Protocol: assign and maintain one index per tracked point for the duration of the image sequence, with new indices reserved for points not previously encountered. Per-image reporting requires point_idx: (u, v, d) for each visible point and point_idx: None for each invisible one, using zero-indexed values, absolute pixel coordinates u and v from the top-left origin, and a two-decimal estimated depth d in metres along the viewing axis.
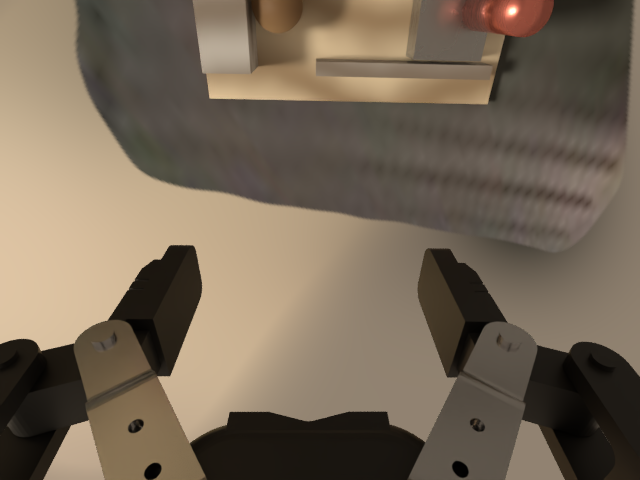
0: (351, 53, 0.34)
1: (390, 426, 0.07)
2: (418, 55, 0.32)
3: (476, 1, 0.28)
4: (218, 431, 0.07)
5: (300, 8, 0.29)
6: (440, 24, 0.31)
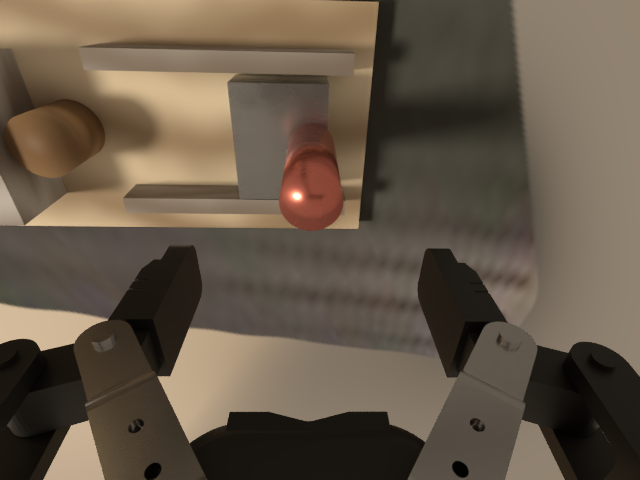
0: (178, 178, 0.28)
1: (390, 426, 0.07)
2: (245, 194, 0.25)
3: (287, 150, 0.21)
4: (218, 431, 0.07)
5: (72, 151, 0.23)
6: (263, 162, 0.24)
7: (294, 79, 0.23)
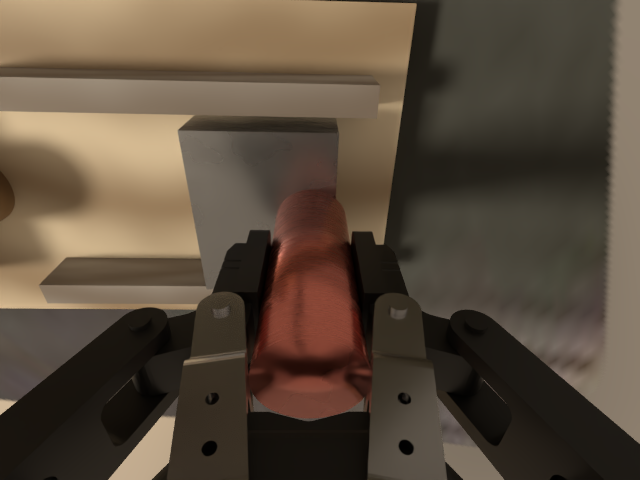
0: (124, 250, 0.20)
1: None
2: (214, 283, 0.17)
3: (273, 240, 0.13)
4: None
5: None
6: (239, 241, 0.16)
7: (285, 122, 0.15)
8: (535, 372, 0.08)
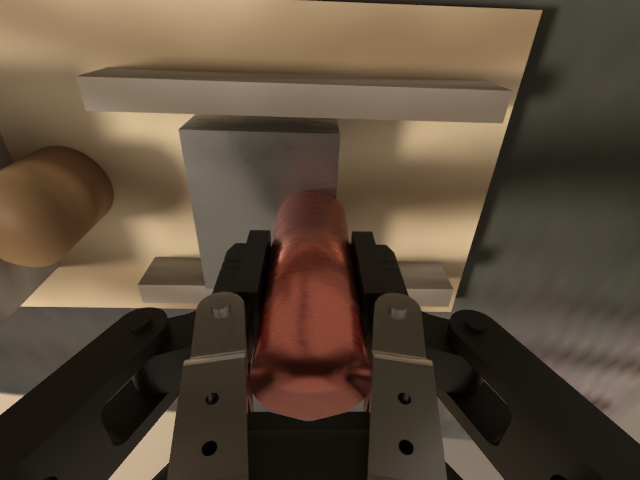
0: None
1: None
2: (213, 283, 0.17)
3: (273, 240, 0.13)
4: None
5: (65, 232, 0.15)
6: (239, 241, 0.16)
7: (286, 122, 0.15)
8: (535, 372, 0.08)
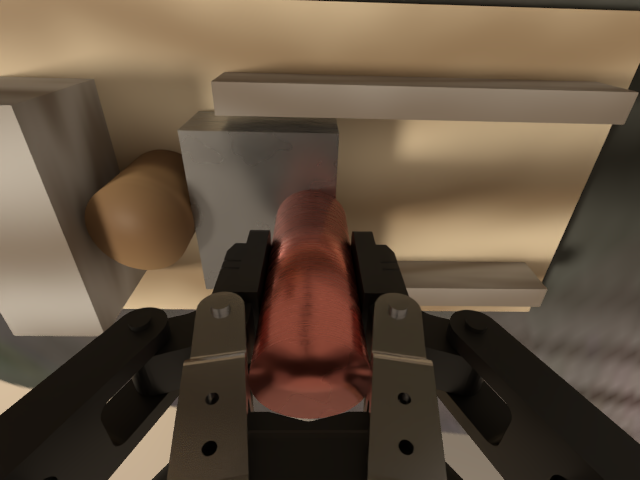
0: None
1: None
2: (213, 283, 0.17)
3: (272, 240, 0.13)
4: None
5: (185, 235, 0.15)
6: (239, 242, 0.16)
7: (285, 122, 0.15)
8: (535, 372, 0.08)
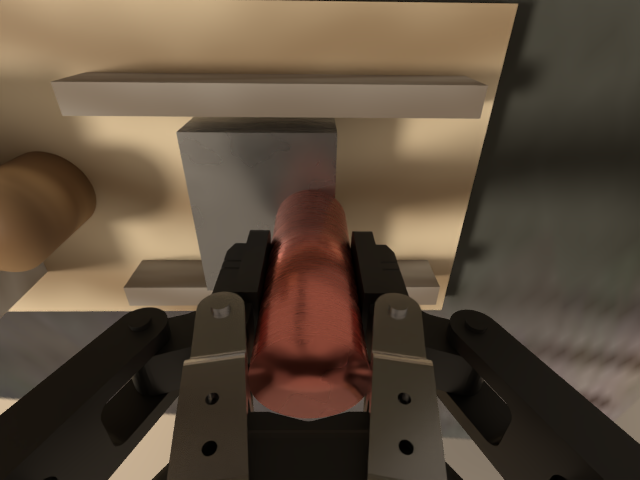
0: None
1: None
2: None
3: (272, 240, 0.13)
4: None
5: (43, 236, 0.15)
6: (239, 242, 0.16)
7: (284, 122, 0.15)
8: (535, 372, 0.08)
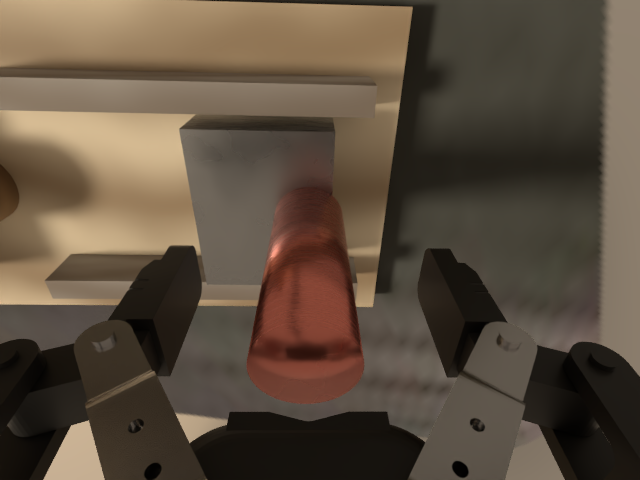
0: (128, 247, 0.20)
1: (390, 426, 0.07)
2: (214, 279, 0.18)
3: (271, 235, 0.14)
4: (218, 431, 0.07)
5: None
6: (238, 238, 0.17)
7: (283, 121, 0.15)
8: None
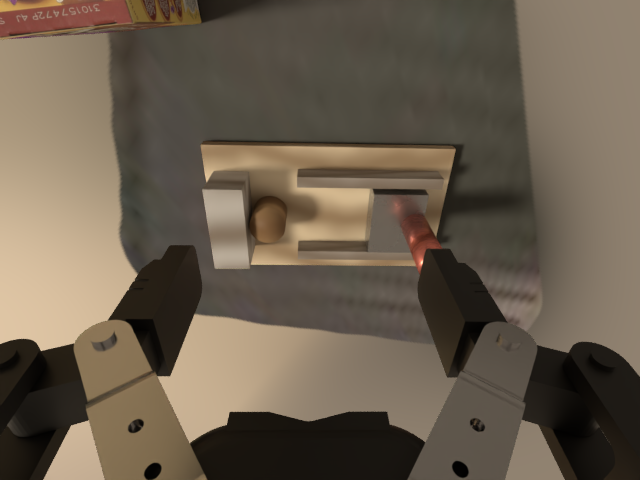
0: (324, 237, 0.46)
1: (390, 426, 0.07)
2: (371, 250, 0.44)
3: (407, 232, 0.40)
4: (218, 431, 0.07)
5: (284, 229, 0.41)
6: (385, 233, 0.42)
7: (406, 189, 0.41)
8: None
